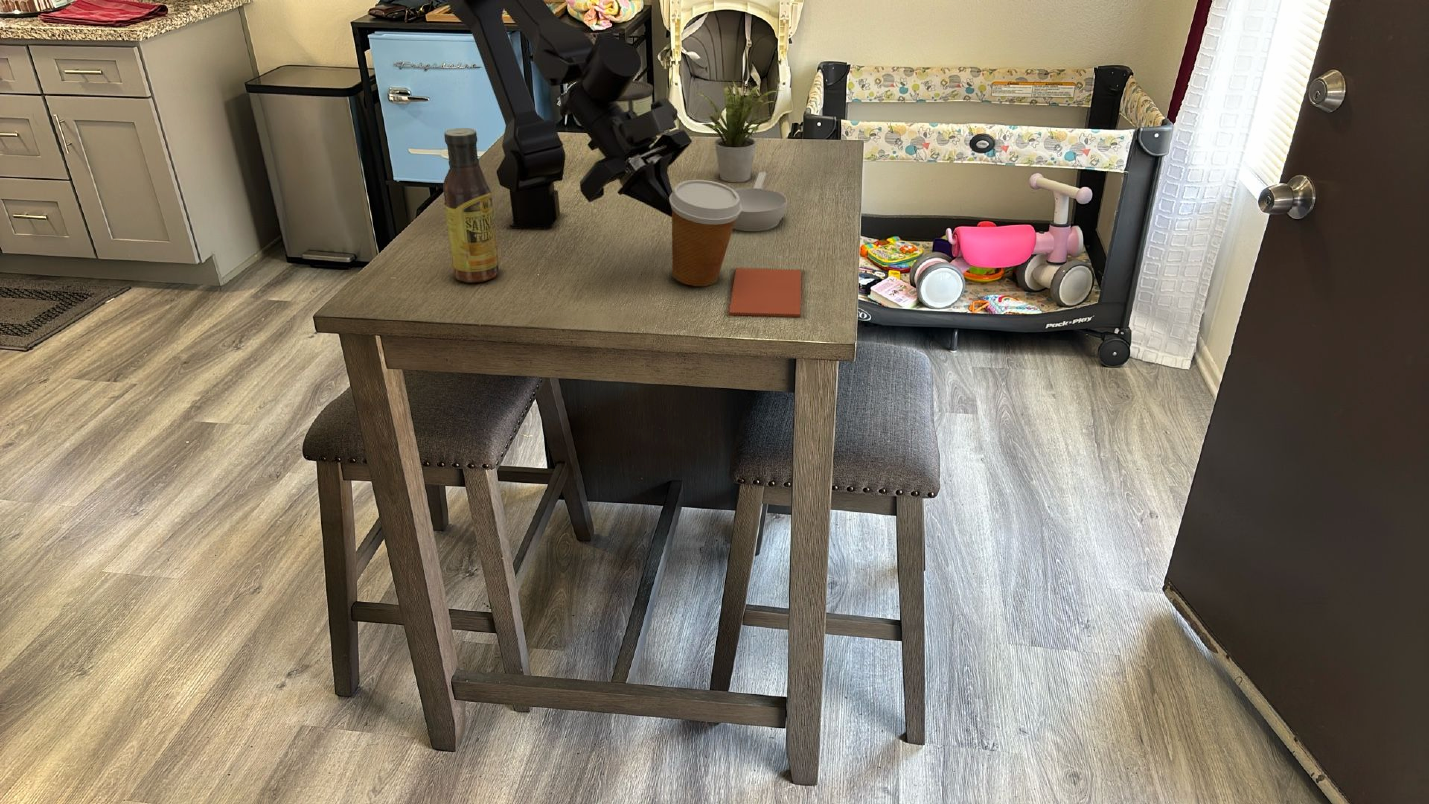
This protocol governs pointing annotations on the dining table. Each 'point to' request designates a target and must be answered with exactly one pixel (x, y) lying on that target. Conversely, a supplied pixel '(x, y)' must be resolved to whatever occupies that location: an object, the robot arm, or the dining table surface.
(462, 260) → the sauce bottle
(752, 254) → the dining table surface
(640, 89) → the coffee can
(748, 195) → the saucepan
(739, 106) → the house plant
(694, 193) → the disposable coffee cup
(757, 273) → the mat
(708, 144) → the dining table surface
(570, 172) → the dining table surface
